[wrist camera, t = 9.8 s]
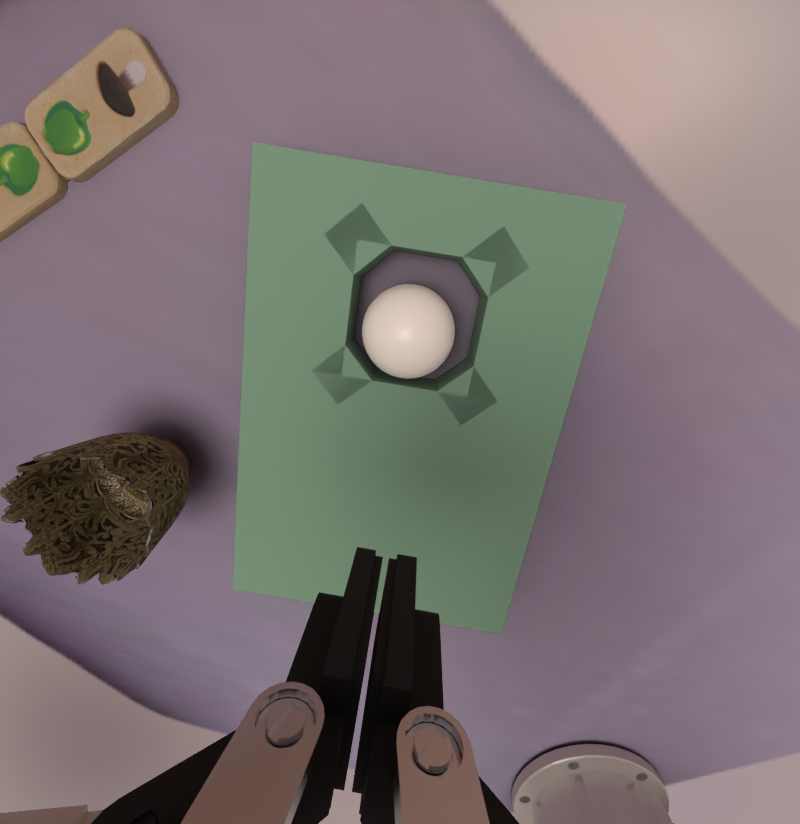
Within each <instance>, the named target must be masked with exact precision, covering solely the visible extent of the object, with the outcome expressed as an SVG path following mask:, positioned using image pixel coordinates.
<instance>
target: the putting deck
mask: <svg viewBox="0 0 800 824" xmlns="http://www.w3.org/2000/svg"><path fill="white" fill-rule="evenodd" d="M626 207H627V204H624V203H618V202H612V201H606V200H600V199H593V198H587V197H581V196H575V195H569V194H563V193H557V192H551V191H545V190H539V189H533V188H527V187H521V186H515V185H509V184H503V183H497V182H491V181H485V180H479V179H473V178H467V177H461V176H455V175H449V174H443V173H437V172H431V171H424V170H418V169H412V168H406V167H400V166H394V165H388V164H382V163H376V162H370V161H364V160H358V159H352V158H346V157H340V156H334V155H328V154H322V153H316V152H310V151H304V150H298V149H292V148H286V147H280V146H274V145H268V144H262V143H255V142H253V143H252V165H251V187H250V210H249V232H248V254H247V277H246V299H245V321H244V343H243V366H242V388H241V410H240V432H239V455H238V477H237V499H236V521H235V544H234V566H233V588H232V589H233V590H239V591H245V592H251V593H257V594H263V595H269V596H275V597H281V598H287V599H293V600H299V601H305V602H311V603H315V600H316V597H317V595H318V593H319V592H321V593H326V594H332V595H338V596H343V597H344V593H345V589H346V586H347V582H348V578H349V575H350V571H351V567H352V564H353V560H354V556H355V553H356V549H357V547H361V548H367V549H372V550H376V556H380V557H383V560H382V566H381V572H380V578H379V584H378V590H377V597H376V603H375V609H374V613H377V614H379V612H380V606H381V601H382V595H383V590H384V584H385V578H386V573H387V567H388V561H389V558H392V559H397V554H401V555H407V556H412V557H417V573H416V604H415V609H417V610H422V611H428V612H434V613H438V614H439V619H440V624H443V625H449V626H454V627H460V628H466V629H472V630H478V631H484V632H490V633H496V634H502V631H503V627H504V624H505V620H506V617H507V613H508V610H509V607H510V603H511V600H512V596H513V593H514V590H515V586H516V583H517V579H518V576H519V572H520V569H521V566H522V562H523V559H524V555H525V552H526V548H527V545H528V542H529V538H530V535H531V531H532V528H533V525H534V521H535V518H536V514H537V511H538V507H539V504H540V501H541V497H542V494H543V490H544V487H545V484H546V480H547V477H548V473H549V470H550V466H551V463H552V460H553V456H554V453H555V449H556V446H557V442H558V439H559V436H560V432H561V429H562V425H563V422H564V419H565V415H566V412H567V408H568V405H569V401H570V398H571V395H572V391H573V388H574V384H575V381H576V378H577V374H578V371H579V367H580V364H581V360H582V357H583V354H584V350H585V347H586V343H587V340H588V337H589V333H590V330H591V326H592V323H593V319H594V316H595V313H596V309H597V306H598V302H599V299H600V295H601V292H602V289H603V285H604V282H605V278H606V275H607V272H608V268H609V265H610V261H611V258H612V254H613V251H614V248H615V244H616V241H617V237H618V234H619V231H620V227H621V224H622V220H623V217H624V213H625V210H626ZM394 251H401V252H407V253H413V254H419V255H425V256H431V257H437V258H443V259H449V260H455V261H458V263H459V264H460V266H461V267H462V269H463V270H464V272H465V273H466V275H467V276H468V278H469V280H470V281H471V283H472V284H473V286H474V287H475V289H476V290H477V292H478V293H479V295H480V301H479V306H478V310H477V315H476V320H475V325H474V329H473V334H472V339H471V344H470V349H469V353H468V357H467V358H466V359H464V360H463V361H462V362H460V363H459V364H457V365H456V366H454V367H453V368H451V369H450V370H448V371H447V372H446V373H444V374H443V375H441V376H440V377H438V378H437V379H435V380H434V379H428V378H422V377H418V378H412V379H406V378H398V377H395V376H392V375H389V374H387V373H386V372H384V371H380V370H377V369H376V367H375V366H374V365H373V363H372V362H371V361H370V359H369V358H368V357H367V355H366V354H365V353H364V351H363V350H362V349H361V347H360V346H359V345H358V343H357V342H356V341H355V339H354V334H355V326H356V317H357V309H358V301H359V293H360V285H361V277H362V276H363V275H364V274H366V273H367V272H368V271H369V270H371V269H372V268H373V267H374V266H376V265H377V264H378V263H380V262H381V261H382V260H383V259H385V258H386V257H387V256H388V255H390V254H391V253H392V252H394Z"/></svg>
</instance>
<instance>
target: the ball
mask: <svg viewBox="0 0 800 824" xmlns="http://www.w3.org/2000/svg"><path fill="white" fill-rule="evenodd" d="M454 337H455V325H454V320H453V316H452V313H451V311H450V309H449V307H448V305H447V304H446V303H445V301H444V300H443V299H442V298H441V297H440V296H439V295H438V294H437V293H435V292H434V291H432V290H431V289H429V288H427V287H424V286H421V285H416V284H401V285H397V286H393V287H391V288H389V289H387V290H385V291H383V292H382V293H380V294H379V295H378V296H377V297H376V298H375V299H374V300H373V301H372V303H371V304H370V306H369V307H368V309H367V311H366V313H365V316H364V319H363V325H362V339H363V343H364V347H365V349H366V352H367V354H368V356H369V357H370V359H371V360H372V361H373V363H374V364H375V365H376V366H377V367H378V368H380V369H381V370H382V371H384V372H386V373H387V374H389V375H392V376H395V377H398V378H406V379H412V378H418V377H422V376H425V375H427V374H429V373H431V372H433V371H434V370H436V369H437V368H438V367H439V366H440V365H441V364H442V363H443V362H444V361H445V360H446V358H447V357H448V355H449V353H450V351H451V349H452V346H453V343H454Z"/></svg>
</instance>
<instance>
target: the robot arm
mask: <svg viewBox="0 0 800 824" xmlns="http://www.w3.org/2000/svg"><path fill="white" fill-rule="evenodd" d="M382 560H383V557H380V556H376V550H372V549H367V548H361V547H357V549H356V553H355V556H354V560H353V564H352V567H351V571H350V575H349V578H348V582H347V586H346V589H345V593H344V597H343V596H338V595H332V594H326V593H321V592H319V593H318V595H317V597H316V600H315V603H314V606H313V608H312V611H311V614H310V617H309V619H308V622H307V625H306V628H305V630H304V633H303V636H302V639H301V641H300V644H299V647H298V650H297V652H296V655H295V658H294V661H293V664H292V666H291V669H290V672H289V675H288V677H287V680H286V682H283V683H279V684H276V685H274V686H271V687H269V688H268V689H266V690H265V691H264V692H262V693H261V694H260V695H259V696H258V697H257V698H256V700H255V701H254V702H253V703H252V705H251V706H250V708H249V710H248V711H247V713H246V715H245V717H244V718H243V720H242V722H241V723H240V725H239V727H238V728H237V730H235V731H233V732H232V733H230V734H228V735H227V736H225V737H223V738H221V739H220V740H218V741H216V742H215V743H213V744H211V745H210V746H208V747H206V748H205V749H203V750H201V751H199V752H198V753H196V754H194V755H193V756H191V757H189V758H187V759H186V760H184V761H183V762H181V763H179V764H177V765H175V766H174V767H172V768H170V769H169V770H167V771H165V772H164V773H162V774H160V775H158V776H157V777H155V778H153V779H152V780H150V781H148V782H147V783H145V784H143V785H141V786H140V787H138V788H136V789H135V790H133V791H131V792H130V793H128V794H126V795H124V796H123V797H121V798H119V799H118V800H117V801H115V802H114V803H113V804H111V805H110V806H109V807H107V808H106V809H104V810H99V811H90V812H88V807H87V805H79V806H69V807H59V808H50V809H38V810H28V811H18V812H8V813H0V824H318V823H319V822H320V821H321V820H323V819H324V818H325V817H326V816H327V815H328V813H329V808H330V807H331V801H332V796H333V790H334V789H340V790H344V786H345V781H346V775H347V769H348V763H349V758H350V752H351V746H352V740H353V734H354V729H355V723H356V717H357V711H358V705H359V700H360V694H361V688H362V682H363V676H364V670H365V664H366V658H367V652H368V646H369V639H370V633H371V627H372V621H373V615H374V609H375V603H376V597H377V590H378V584H379V578H380V572H381V566H382ZM416 573H417V557H412V556H407V555H401V554H397V559H392V558H389V561H388V567H387V573H386V578H385V584H384V590H383V595H382V601H381V606H380V612H379V618H378V623H377V629H376V635H375V641H374V647H373V653H372V660H371V667H370V674H369V680H368V687H367V694H366V701H365V707H364V714H363V721H362V728H361V734H360V741H359V748H358V755H357V761H356V768H355V775H354V782H353V789H352V792H356V793H361V794H362V795H361V804H360V811H359V814H361V819H360V821H361V823H362V824H673V823H672V821H671V819H670V817H669V815H668V810H669V799H668V796H667V792H666V789H665V787H664V785H663V783H662V781H661V779H660V777H659V775H658V773H657V772H656V771H655V770H654V768H653V767H652V766H651V765H650V764H649V763H647V762H646V761H645V760H644V759H642V758H641V757H639V756H637V755H635V754H633V753H631V752H629V751H627V750H624V749H621V748H618V747H614V746H608V745H602V744H579V745H570V746H566V747H562V748H558V749H555V750H553V751H550V752H548V753H545V754H543V755H541V756H540V757H538V758H537V759H535V760H533V761H532V762H531V763H530V764H528V765H527V766H526V767H525V768H524V769H523V770H522V772H521V773H520V774H519V776H518V777H517V778H516V780H515V783H514V785H513V787H512V794H511V801H512V808H513V814H514V817H513V815H512V814H511V813H510V812H509V811H508V810H507V808H506V807H505V806H504V805H503V804H502V803H501V801H500V800H499V799H498V798H497V797H496V796H495V794H494V793H493V792H492V791H491V790H490V789H489V787H488V786H487V785H486V784H485V783H484V782H483V780H482V779H481V778H480V777H479V776H478V772H477V768H476V764H475V760H474V756H473V751H472V747H471V743H470V741H469V738H468V735H467V733H466V731H465V729H464V728H463V727H462V725H461V724H460V722H459V721H458V720H457V719H456V718H454V717H453V716H452V715H451V714H450V713H448V712H446V711H444V709H443V686H442V663H441V641H440V619H439V614H438V613H434V612H428V611H422V610H417V609H415V604H416Z"/></svg>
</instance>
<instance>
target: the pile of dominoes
mask: <svg viewBox="0 0 800 824" xmlns="http://www.w3.org/2000/svg"><path fill="white" fill-rule="evenodd" d="M178 103H179V101H178V94H177V91H176V90H175V88H174V86H173V84H172V83H171V81H170V79H169V77H168V76H167V74H166V72H165V71H164V69H163V67H162V66H161V64H160V62H159V61H158V59H157V57H156V56H155V54H154V52H153V51H152V49H151V47H150V46H149V44H148V43H147V41H146V40H145V39H144V38H143V37H142V36H140V35H139V34H138V33H137V32H135V31H133V30H132V29H130V28H119V29H116V30H115V31H114V32H112V33H111V34H110V35H109V36H108V37H107V38H105V39H104V40H103V41H102V42H101V43H100V44H98V45H97V46H96V47H95V48H94V49H92V50H91V51H90V52H89V53H88V54H87V55H85V56H84V57H83V58H82V59H81V60H79V61H78V62H77V63H76V64H75V65H74V66H72V67H71V68H70V69H69V70H68V71H66V72H65V73H64V74H63V75H62V76H61V77H59V78H58V79H57V80H56V81H55V82H53V83H52V84H51V85H50V86H49V87H48V88H46V89H45V90H44V91H43V92H42V93H41V94H39V95H38V96H37V97H36V98H35V99H34V100H33V101H32V102H30V103H29V104H28V105H27V107H26V110H25V122H26V125H25V124H22V123H18V122H8V123H5V124H3V125H2V126H1V127H0V242H1V241H2V240H4V239H5V238H7V237H8V236H9V235H11V234H12V233H14V232H15V231H17V230H18V229H20V228H21V227H22V226H24V225H25V224H27V223H28V222H30V221H31V220H32V219H34V218H35V217H37V216H38V215H40V214H41V213H42V212H44V211H45V210H47V209H48V208H50V207H51V206H52V205H54V204H55V203H57V202H58V201H60V200H61V199H62V198H63V197H64V196H65V194H66V192H67V188H68V181H69V180H74V181H77V182H83V181H86V180H88V179H90V178H91V177H92V176H94V175H95V174H96V173H98V172H99V171H100V170H102V169H103V168H104V167H106V166H107V165H108V164H109V163H111V162H112V161H113V160H115V159H116V158H117V157H119V156H120V155H121V154H123V153H124V152H125V151H127V150H128V149H129V148H131V147H132V146H133V145H134V144H136V143H137V142H138V141H140V140H141V139H142V138H144V137H145V136H147V135H148V134H149V133H151V132H152V131H153V130H155V129H156V128H157V127H159V126H160V125H161V124H163V123H164V122H165V121H167V120H168V119H169V118H170V117H171V116H173V114H174V113H175V112H176V110H177V107H178Z"/></svg>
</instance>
